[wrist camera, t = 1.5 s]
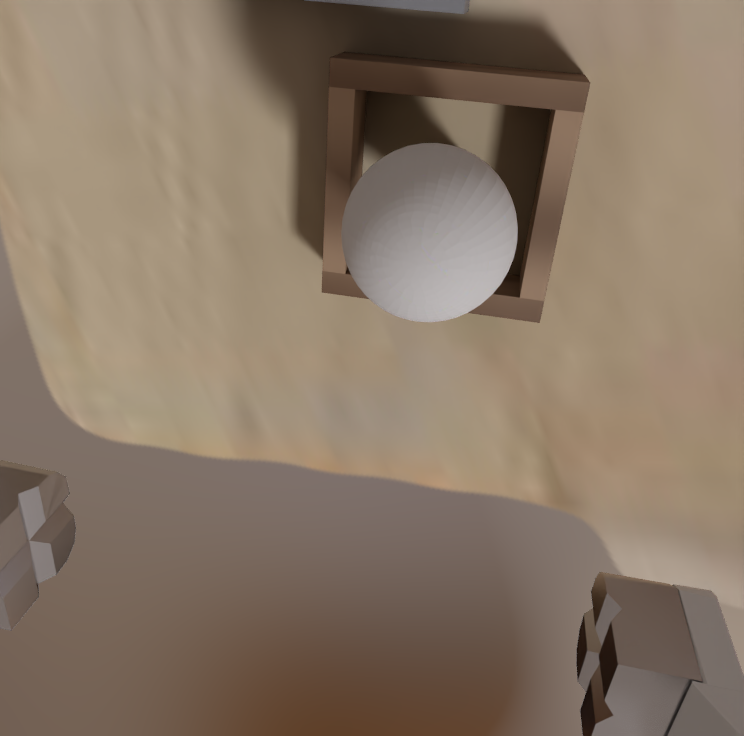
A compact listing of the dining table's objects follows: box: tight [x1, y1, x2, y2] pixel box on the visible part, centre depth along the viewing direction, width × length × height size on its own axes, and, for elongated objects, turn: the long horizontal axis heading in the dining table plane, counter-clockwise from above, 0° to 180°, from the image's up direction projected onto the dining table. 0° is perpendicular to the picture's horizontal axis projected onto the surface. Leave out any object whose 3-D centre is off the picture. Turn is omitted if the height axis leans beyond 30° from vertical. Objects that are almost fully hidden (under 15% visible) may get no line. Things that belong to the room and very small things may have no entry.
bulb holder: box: [322, 52, 590, 323], centre depth 28 cm, size 9×9×2 cm
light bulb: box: [341, 143, 518, 322], centre depth 25 cm, size 6×6×10 cm
